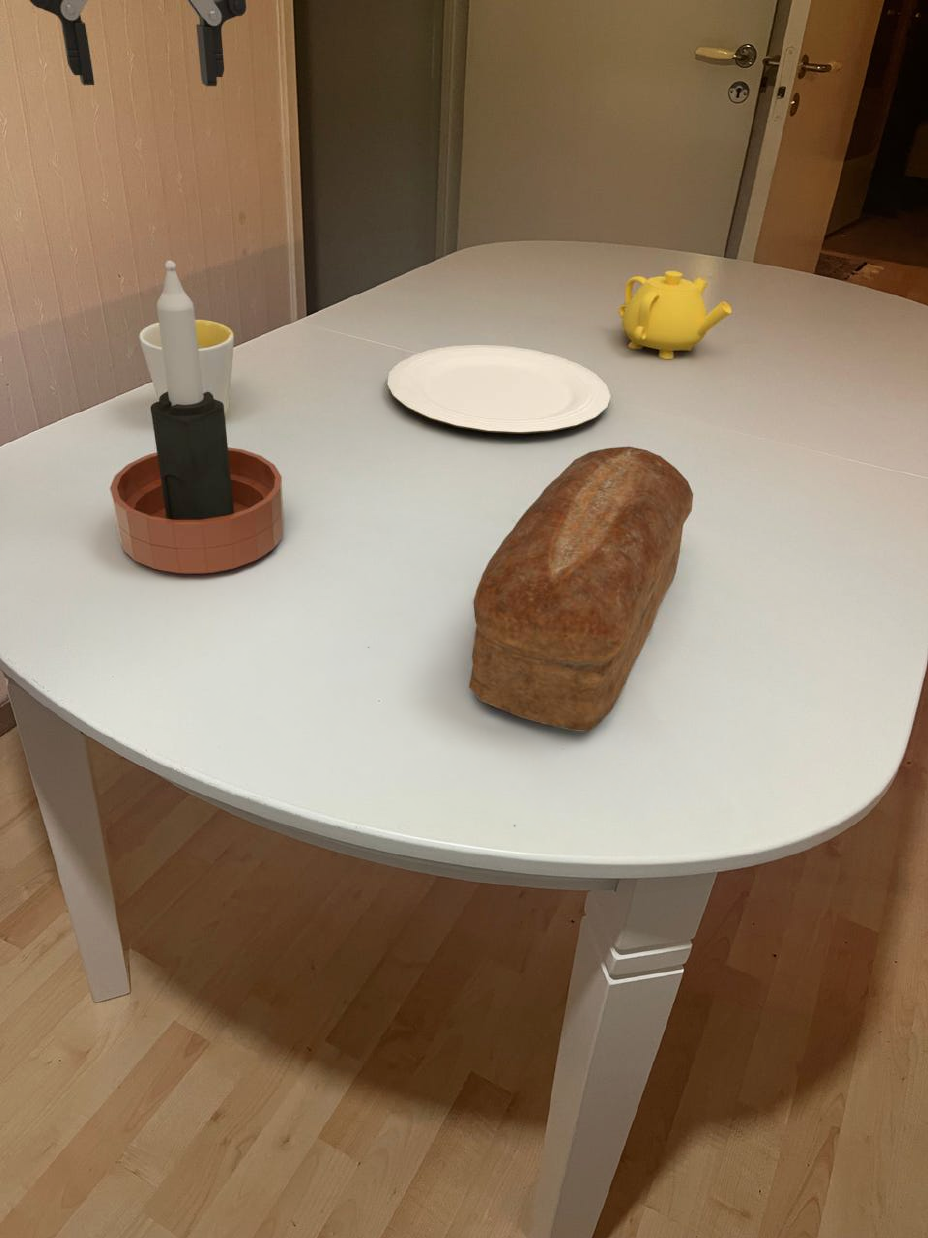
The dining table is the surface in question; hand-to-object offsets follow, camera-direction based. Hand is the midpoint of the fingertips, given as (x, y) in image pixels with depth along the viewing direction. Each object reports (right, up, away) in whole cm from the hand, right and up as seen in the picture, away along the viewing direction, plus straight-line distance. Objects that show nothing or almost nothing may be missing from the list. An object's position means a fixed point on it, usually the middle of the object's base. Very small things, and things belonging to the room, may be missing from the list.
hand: (149, 84), depth 67 cm
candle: (-2, -30, +22) cm, 38 cm away
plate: (+27, -10, +55) cm, 62 cm away
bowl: (-2, -31, +22) cm, 38 cm away
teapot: (+54, +3, +75) cm, 92 cm away
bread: (+33, -40, +14) cm, 53 cm away
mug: (-8, -14, +45) cm, 48 cm away
